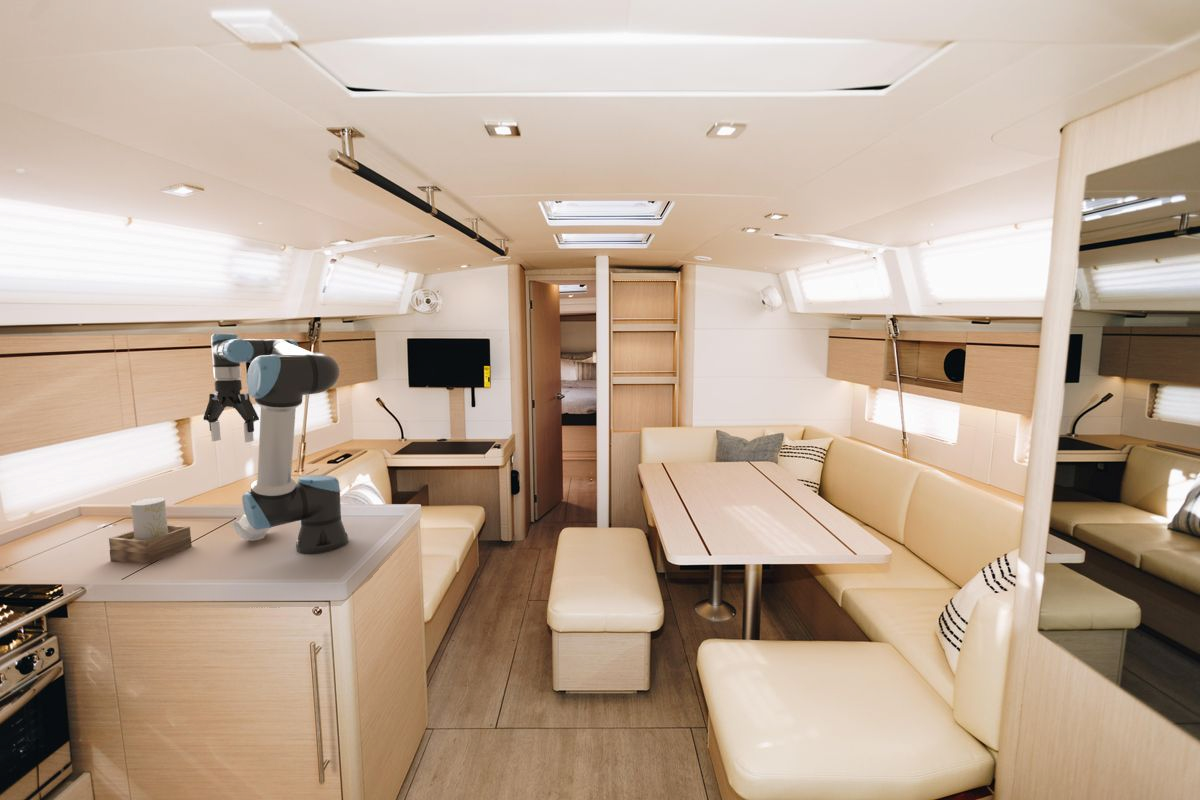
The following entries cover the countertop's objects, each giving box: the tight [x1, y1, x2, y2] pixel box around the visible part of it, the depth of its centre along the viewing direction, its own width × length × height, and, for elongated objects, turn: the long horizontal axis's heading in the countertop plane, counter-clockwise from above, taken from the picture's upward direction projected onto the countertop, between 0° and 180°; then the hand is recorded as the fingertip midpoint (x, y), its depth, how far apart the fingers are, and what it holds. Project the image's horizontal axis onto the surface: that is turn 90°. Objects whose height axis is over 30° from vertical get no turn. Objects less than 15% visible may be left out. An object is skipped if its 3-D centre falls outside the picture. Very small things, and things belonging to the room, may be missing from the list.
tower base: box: [109, 537, 193, 564], centre depth 170 cm, size 14×14×4 cm
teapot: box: [231, 513, 271, 542], centre depth 182 cm, size 10×20×9 cm, turn 178°
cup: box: [130, 497, 168, 541], centre depth 169 cm, size 8×8×12 cm
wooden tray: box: [108, 524, 192, 553], centre depth 169 cm, size 14×14×4 cm
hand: (232, 441), depth 184 cm, fingers open, 13 cm apart
